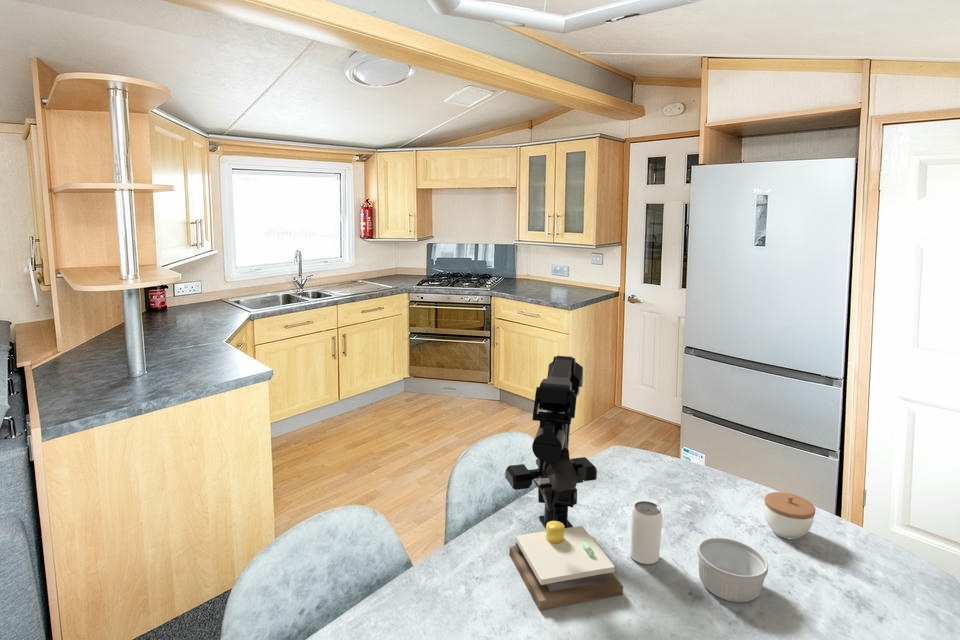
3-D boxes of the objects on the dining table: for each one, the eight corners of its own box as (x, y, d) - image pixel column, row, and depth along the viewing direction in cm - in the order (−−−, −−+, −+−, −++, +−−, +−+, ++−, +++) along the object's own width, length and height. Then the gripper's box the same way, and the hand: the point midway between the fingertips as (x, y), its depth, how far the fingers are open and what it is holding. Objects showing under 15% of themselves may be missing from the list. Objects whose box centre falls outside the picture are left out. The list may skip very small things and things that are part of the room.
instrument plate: (515, 540, 123) (516, 523, 122) (581, 530, 127) (582, 513, 126) (540, 585, 109) (541, 566, 108) (614, 571, 113) (615, 553, 112)
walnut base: (509, 554, 125) (509, 539, 124) (582, 543, 129) (583, 528, 129) (539, 610, 108) (539, 593, 107) (622, 594, 112) (623, 578, 112)
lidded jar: (798, 521, 140) (803, 487, 138) (819, 546, 129) (825, 510, 128) (754, 518, 141) (758, 484, 139) (771, 543, 130) (776, 506, 129)
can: (660, 567, 121) (664, 517, 119) (629, 563, 122) (633, 513, 120) (657, 549, 127) (661, 501, 125) (627, 546, 128) (631, 498, 126)
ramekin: (759, 573, 120) (763, 544, 118) (769, 615, 108) (773, 583, 106) (694, 560, 124) (696, 531, 123) (695, 598, 112) (699, 567, 110)
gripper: (523, 463, 106) (521, 537, 109) (612, 453, 111) (607, 524, 114) (505, 439, 116) (503, 507, 119) (587, 431, 121) (583, 496, 124)
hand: (549, 509), depth 119 cm, fingers closed
